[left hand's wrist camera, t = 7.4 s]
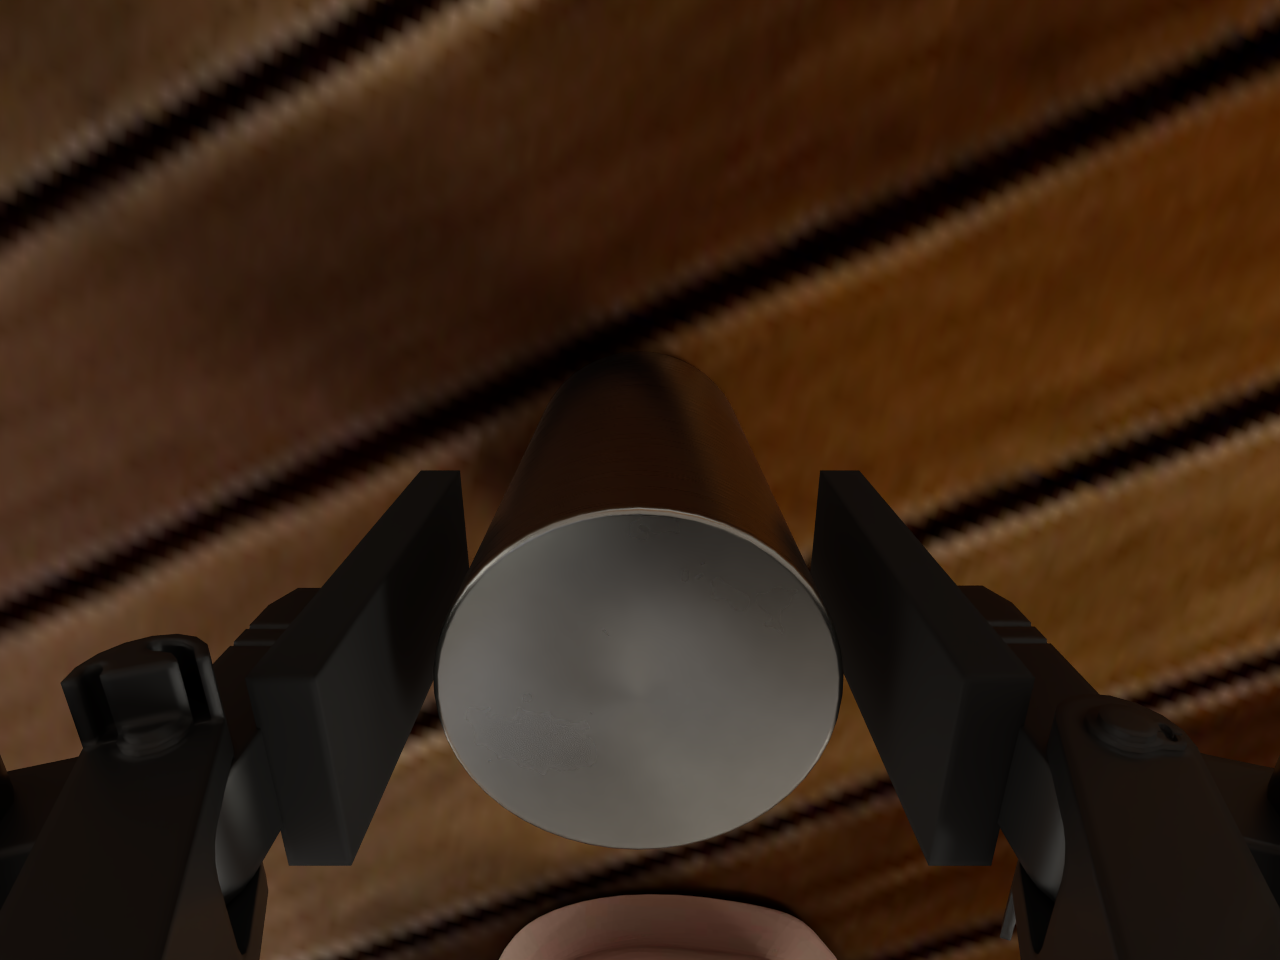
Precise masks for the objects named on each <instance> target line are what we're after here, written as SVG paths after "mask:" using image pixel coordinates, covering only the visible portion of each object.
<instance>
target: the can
mask: <svg viewBox="0 0 1280 960" xmlns="http://www.w3.org/2000/svg"><path fill="white" fill-rule="evenodd" d="M433 674H434V694H435V699H436V704H437V710H438V715H439V718H440V721H441V724H442V727H443V730H444V732H445V735H446V738H447V740H448V742H449V744H450V746H451V747H452V749H453V751H454V753H455V755H456V757H457V759H458V760H459V761H460V763H461V764H462V765H463V767H464V768H465V770H466V771H467V772H468V774H469V775H470V776H471V777H472V779H473V780H474V781H475V782H476V783H477V784H478V785H479V786H480V787H481V788H482V789H483V790H484V791H485V792H486V793H487V794H488V795H489V796H491V797H492V798H493V799H494V800H495V801H497V802H498V803H499V804H500V805H501V806H503V807H504V808H506V809H507V810H509V811H510V812H512V813H513V814H515V815H516V816H518V817H519V818H521V819H523V820H524V821H526V822H528V823H530V824H532V825H534V826H536V827H538V828H540V829H543V830H545V831H547V832H550V833H553V834H555V835H558V836H561V837H563V838H566V839H570V840H574V841H578V842H582V843H585V844H589V845H596V846H602V847H609V848H618V849H637V850H638V849H660V848H668V847H675V846H682V845H687V844H691V843H695V842H699V841H703V840H707V839H711V838H713V837H716V836H719V835H722V834H724V833H727V832H730V831H732V830H734V829H736V828H738V827H741V826H743V825H745V824H747V823H749V822H751V821H753V820H754V819H756V818H757V817H759V816H761V815H762V814H764V813H765V812H767V811H768V810H770V809H772V808H773V807H774V806H775V805H777V804H778V803H779V802H780V801H782V800H783V799H784V798H785V797H787V796H788V795H789V794H790V793H791V792H792V791H793V790H794V789H795V788H796V787H797V786H798V785H799V784H800V783H801V782H802V781H803V780H804V779H805V778H806V776H807V775H808V773H809V772H810V771H811V769H812V768H813V767H814V765H815V764H816V763H817V761H818V760H819V758H820V756H821V755H822V753H823V751H824V749H825V747H826V746H827V744H828V742H829V740H830V737H831V735H832V732H833V729H834V727H835V724H836V721H837V718H838V713H839V709H840V704H841V699H842V692H843V663H842V654H841V648H840V644H839V640H838V637H837V633H836V629H835V626H834V624H833V622H832V620H831V617H830V615H829V613H828V611H827V609H826V606H825V604H824V602H823V600H822V598H821V596H820V594H819V591H818V589H817V587H816V585H815V583H814V581H813V579H812V577H811V575H810V572H809V570H808V568H807V566H806V564H805V562H804V560H803V558H802V555H801V553H800V551H799V549H798V547H797V545H796V543H795V541H794V538H793V536H792V534H791V532H790V530H789V528H788V526H787V524H786V521H785V519H784V517H783V515H782V513H781V511H780V509H779V507H778V504H777V502H776V500H775V498H774V496H773V494H772V492H771V490H770V488H769V485H768V483H767V481H766V479H765V477H764V475H763V473H762V471H761V468H760V466H759V464H758V462H757V460H756V458H755V456H754V454H753V451H752V449H751V447H750V445H749V443H748V441H747V439H746V437H745V434H744V432H743V430H742V428H741V426H740V424H739V422H738V420H737V417H736V415H735V413H734V411H733V409H732V407H731V405H730V403H729V402H728V400H727V398H726V397H725V395H724V394H723V392H722V391H721V390H720V389H719V388H718V386H717V385H716V384H715V383H714V382H713V381H712V380H711V379H710V378H708V377H707V376H706V375H705V374H704V373H702V372H701V371H700V370H698V369H697V368H695V367H694V366H692V365H690V364H688V363H686V362H684V361H682V360H679V359H677V358H674V357H671V356H668V355H663V354H658V353H653V352H625V353H620V354H615V355H611V356H608V357H605V358H602V359H599V360H597V361H595V362H592V363H590V364H588V365H586V366H585V367H583V368H582V369H580V370H579V371H577V372H576V373H574V374H573V375H572V376H571V377H570V378H569V379H568V380H566V381H565V382H564V383H563V385H562V386H561V387H560V388H559V389H558V390H557V391H556V393H555V394H554V396H553V397H552V399H551V400H550V402H549V404H548V406H547V408H546V410H545V412H544V414H543V416H542V418H541V420H540V422H539V424H538V426H537V429H536V431H535V433H534V435H533V437H532V439H531V441H530V443H529V445H528V447H527V449H526V451H525V454H524V456H523V458H522V460H521V462H520V464H519V466H518V468H517V470H516V472H515V474H514V477H513V479H512V481H511V483H510V485H509V487H508V489H507V491H506V493H505V495H504V497H503V499H502V502H501V504H500V506H499V508H498V510H497V512H496V514H495V516H494V518H493V520H492V522H491V525H490V527H489V529H488V531H487V533H486V535H485V537H484V539H483V541H482V543H481V545H480V547H479V550H478V552H477V554H476V556H475V558H474V560H473V562H472V564H471V566H470V568H469V570H468V572H467V575H466V577H465V579H464V581H463V583H462V585H461V587H460V589H459V591H458V593H457V595H456V598H455V600H454V602H453V604H452V606H451V608H450V610H449V612H448V615H447V617H446V619H445V621H444V623H443V625H442V629H441V632H440V636H439V639H438V643H437V646H436V652H435V661H434V669H433Z"/></svg>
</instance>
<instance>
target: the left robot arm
mask: <svg viewBox="0 0 1280 960" xmlns="http://www.w3.org/2000/svg"><path fill="white" fill-rule="evenodd" d="M468 570H469V562H468V551H467V541H466V530H465V520H464V509H463V499H462V489H461V478H460V471H420V472H419V473H418V475H417V476H416V477H415V478H414V479H413V480H412V482H411V483H410V484H409V485H408V486H407V487H406V489H405V490H404V491H403V492H402V493H401V495H400V496H399V497H398V498H397V499H396V500H395V502H394V503H393V504H392V505H391V506H390V507H389V509H388V510H387V511H386V512H385V513H384V515H383V516H382V517H381V518H380V519H379V520H378V522H377V523H376V524H375V525H374V526H373V527H372V529H371V530H370V531H369V532H368V533H367V535H366V536H365V537H364V538H363V539H362V540H361V542H360V543H359V544H358V545H357V546H356V547H355V549H354V550H353V551H352V552H351V553H350V555H349V556H348V557H347V558H346V559H345V560H344V562H343V563H342V564H341V565H340V566H339V567H338V569H337V570H336V571H335V572H334V573H333V575H332V576H331V577H330V578H329V579H328V580H327V582H326V583H325V584H324V585H323V586H322V588H297V589H296V590H294V591H292V592H290V593H289V594H287V595H285V596H284V597H282V598H280V599H278V600H277V601H275V602H273V603H271V604H270V605H268V606H267V607H266V609H265V610H264V611H263V612H262V613H261V614H260V615H259V616H258V617H257V618H256V619H255V620H254V621H253V622H252V623H251V624H250V629H246V630H245V631H244V632H243V633H242V634H241V635H240V636H239V637H238V638H237V639H236V640H235V641H234V646H230V647H229V648H228V649H227V650H226V651H225V652H224V653H223V654H222V655H221V656H220V657H219V658H218V659H217V660H216V661H215V662H214V663H213V664H212V660H211V656H210V652H209V649H208V645H207V644H206V643H205V642H203V641H202V640H200V639H199V638H197V637H194V636H188V635H181V634H170V635H158V636H150V637H146V638H142V639H138V640H134V641H130V642H126V643H123V644H121V645H118V646H116V647H113V648H111V649H108V650H106V651H104V652H101V653H99V654H97V655H95V656H94V657H92V658H90V659H89V660H87V661H85V662H84V663H82V664H80V665H79V666H77V667H76V668H74V669H73V670H72V672H71V673H70V674H69V675H68V676H67V677H66V678H65V679H64V680H63V681H62V682H61V686H62V688H63V691H64V694H65V697H66V700H67V703H68V706H69V709H70V712H71V714H72V717H73V720H74V723H75V726H76V729H77V732H78V735H79V738H80V740H81V743H82V746H83V749H82V751H81V753H80V755H79V757H75V758H70V759H66V760H61V761H56V762H51V763H46V764H41V765H36V766H32V767H27V768H22V769H17V770H12V771H6V768H5V766H4V763H3V761H2V758H1V756H0V960H259V959H260V951H261V943H262V935H263V928H264V920H265V912H266V905H267V897H268V886H267V879H266V874H265V870H264V866H263V862H262V861H263V860H264V858H265V856H266V854H267V853H268V851H269V849H270V847H271V846H272V844H273V842H274V841H275V839H276V837H277V835H278V834H279V832H280V830H281V834H282V838H283V842H284V847H285V851H286V855H287V859H288V863H289V866H351V865H352V863H353V861H354V858H355V856H356V854H357V852H358V849H359V847H360V845H361V842H362V840H363V838H364V836H365V833H366V831H367V829H368V827H369V824H370V822H371V820H372V818H373V815H374V813H375V811H376V809H377V806H378V804H379V802H380V800H381V797H382V795H383V793H384V790H385V788H386V786H387V784H388V781H389V779H390V777H391V775H392V772H393V770H394V768H395V766H396V763H397V761H398V759H399V757H400V754H401V752H402V750H403V748H404V745H405V743H406V741H407V738H408V736H409V734H410V732H411V729H412V727H413V725H414V723H415V720H416V718H417V716H418V714H419V711H420V709H421V707H422V705H423V702H424V700H425V698H426V696H427V693H428V691H429V689H430V686H431V684H432V682H433V680H434V674H433V669H434V661H435V652H436V646H437V643H438V639H439V636H440V632H441V629H442V625H443V623H444V621H445V619H446V617H447V615H448V612H449V610H450V608H451V606H452V604H453V602H454V600H455V598H456V595H457V593H458V591H459V589H460V587H461V585H462V583H463V581H464V579H465V577H466V575H467V572H468ZM810 575H811V577H812V579H813V581H814V583H815V585H816V587H817V589H818V591H819V594H820V596H821V598H822V600H823V602H824V604H825V606H826V609H827V611H828V613H829V615H830V617H831V620H832V622H833V624H834V626H835V629H836V633H837V637H838V640H839V644H840V648H841V654H842V663H843V673H844V675H845V677H846V680H847V682H848V684H849V686H850V689H851V691H852V693H853V695H854V698H855V700H856V702H857V705H858V707H859V709H860V711H861V714H862V716H863V718H864V720H865V723H866V725H867V727H868V729H869V732H870V734H871V736H872V738H873V741H874V743H875V745H876V747H877V750H878V752H879V754H880V757H881V759H882V761H883V763H884V766H885V768H886V770H887V772H888V775H889V777H890V779H891V781H892V784H893V786H894V788H895V790H896V793H897V795H898V797H899V799H900V802H901V804H902V806H903V809H904V811H905V813H906V815H907V818H908V820H909V822H910V824H911V827H912V829H913V831H914V833H915V836H916V838H917V840H918V842H919V845H920V847H921V849H922V851H923V854H924V856H925V858H926V861H927V863H928V865H929V866H991V864H992V859H993V855H994V851H995V847H996V842H997V838H998V834H999V830H1000V828H1001V830H1002V832H1003V833H1004V835H1005V837H1006V839H1007V840H1008V842H1009V844H1010V845H1011V847H1012V849H1013V851H1014V852H1015V854H1016V856H1017V857H1018V862H1017V866H1016V870H1015V874H1014V878H1013V882H1012V886H1011V890H1010V894H1009V898H1008V901H1007V905H1006V909H1005V913H1004V917H1003V921H1002V928H1001V934H1000V938H1004V939H1007V940H1011V937H1012V933H1013V929H1014V925H1015V924H1016V926H1017V933H1018V941H1019V949H1020V956H1021V960H1280V756H1279V758H1278V761H1277V763H1276V766H1275V768H1270V767H1265V766H1260V765H1255V764H1250V763H1245V762H1240V761H1235V760H1231V759H1226V758H1221V757H1216V756H1211V755H1206V754H1203V753H1200V752H1199V750H1198V748H1197V746H1196V745H1195V744H1194V743H1193V741H1192V740H1191V739H1190V738H1189V737H1188V735H1187V734H1186V733H1185V732H1184V731H1183V730H1182V729H1181V728H1179V727H1178V726H1177V725H1175V724H1174V723H1172V722H1171V721H1170V720H1168V719H1167V718H1165V717H1164V716H1163V715H1161V714H1158V713H1156V712H1154V711H1152V710H1150V709H1148V708H1146V707H1144V706H1141V705H1139V704H1137V703H1134V702H1131V701H1127V700H1124V699H1120V698H1117V697H1113V696H1108V695H1099V694H1098V693H1097V692H1096V690H1095V689H1094V688H1093V687H1092V686H1091V685H1090V684H1089V683H1088V682H1087V681H1086V680H1085V679H1084V678H1083V677H1082V676H1081V675H1080V674H1079V673H1078V672H1077V671H1076V669H1075V668H1074V667H1073V666H1072V665H1071V664H1070V663H1069V662H1068V661H1067V660H1066V659H1065V658H1064V657H1063V656H1062V655H1061V654H1060V653H1059V652H1058V651H1057V650H1056V649H1055V647H1054V646H1053V645H1052V644H1047V639H1046V638H1045V637H1044V636H1043V635H1042V634H1041V633H1040V632H1039V631H1038V630H1037V629H1036V628H1035V627H1031V622H1030V621H1029V620H1028V619H1027V618H1026V617H1025V616H1024V615H1023V614H1022V613H1021V612H1020V611H1019V610H1018V609H1017V608H1016V607H1015V606H1014V604H1013V603H1011V602H1010V601H1008V600H1006V599H1005V598H1003V597H1001V596H999V595H998V594H996V593H994V592H992V591H991V590H989V589H987V588H986V587H984V586H957V585H956V584H955V583H954V582H953V580H952V579H951V578H950V577H949V576H948V575H947V573H946V572H945V571H944V570H943V569H942V567H941V566H940V565H939V564H938V563H937V562H936V560H935V559H934V558H933V557H932V556H931V555H930V553H929V552H928V551H927V550H926V549H925V547H924V546H923V545H922V544H921V543H920V542H919V540H918V539H917V538H916V537H915V536H914V535H913V533H912V532H911V531H910V530H909V529H908V527H907V526H906V525H905V524H904V523H903V522H902V520H901V519H900V518H899V517H898V516H897V515H896V513H895V512H894V511H893V510H892V509H891V507H890V506H889V505H888V504H887V503H886V502H885V500H884V499H883V498H882V497H881V496H880V495H879V493H878V492H877V491H876V490H875V489H874V487H873V486H872V485H871V484H870V483H869V482H868V480H867V479H866V478H865V477H864V476H863V475H862V473H861V472H860V471H820V478H819V489H818V499H817V510H816V520H815V531H814V541H813V551H812V562H811V572H810Z"/></svg>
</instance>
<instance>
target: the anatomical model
mask: <svg viewBox="0 0 1280 960" xmlns="http://www.w3.org/2000/svg"><path fill="white" fill-rule="evenodd" d="M499 960H837V959H836V957H835V956H834V954H833V953H832V952H831V951H830V950H829V949H828V947H827V946H826V945H825V944H824V943H823V942H822V940H821V939H820V938H819V937H818V936H817V935H816V933H815V932H814V931H813V930H812V929H811V928H810V927H808V926H807V925H806V924H805V923H804V922H802V921H801V920H799V919H797V918H796V917H794V916H792V915H790V914H787V913H784V912H781V911H778V910H775V909H770V908H766V907H761V906H757V905H752V904H747V903H741V902H734V901H727V900H720V899H712V898H705V897H695V896H684V895H660V894H643V895H621V896H613V897H605V898H598V899H593V900H588V901H583V902H579V903H576V904H572V905H568V906H565V907H562V908H559V909H557V910H554V911H552V912H549V913H547V914H545V915H543V916H540V917H538V918H537V919H535V920H534V921H532V922H531V923H529V924H528V925H526V926H525V927H524V928H523V929H521V930H520V931H519V932H518V933H517V934H516V935H515V936H514V938H513V939H512V940H511V941H510V943H509V944H508V945H507V947H506V948H505V949H504V951H503V953H502V955H501V957H500V959H499Z"/></svg>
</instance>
